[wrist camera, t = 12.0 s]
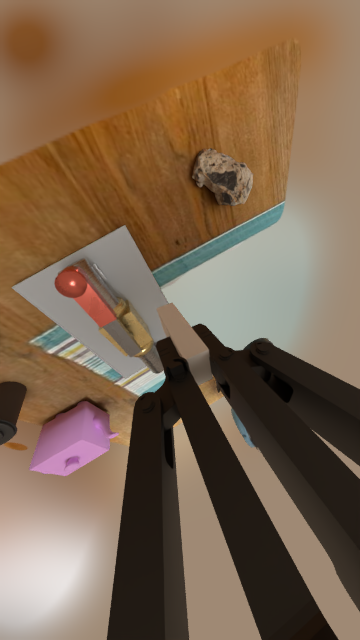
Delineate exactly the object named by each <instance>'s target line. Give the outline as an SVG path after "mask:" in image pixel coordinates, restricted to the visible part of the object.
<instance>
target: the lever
mask: <svg viewBox="0 0 360 640" xmlns="http://www.w3.org/2000/svg"><path fill="white" fill-rule="evenodd" d="M54 284H55V288H56V289H57V291H58V292H59V293H60V294H62V295H63V296H66V297H69V298H73V299H74V300H75V301H76V302H77V303H78V304H79V305H80V306H81V307H82V308H83V309H84V311H85V312H86V313H87V314H88V315H89V316H90V317H91V318H92V319H93V320H94V321H95V322H96V323H97V324H98V326H99V327H100V328H101V327H103V328H104V329H105V330H106V331H107V333H108V334H109V335H110V336H111V337H112V338H113V339H114V340H115V341H116V342H117V343H118V345H119V346H120V347H121V348H122V349H123V350H124V351H125V352H126V353H127V354H128V355H129V357H130V358H131V357H133V356H134V355H136V354H138V353H140V352H142V351H141V347H140V345H139V344H138V343H137V341H136V340H135V339H134V335H133V333H131V332H129V331H128V330H127V329H126V328H125V326H124V325H123V324H122V323H121V321H120V320H119V319H118V317H117V316H116V313H115V312H114V310H113V309H112V308H111V306H110V305H109V304H108V303H107V301H106V300H105V299H104V298H103V296H102V295H101V294H100V292H99V291H98V290H97V289H96V287H95V286H94V285H93V283H92V282H91V281H90V280H89V278H88V275H87V273H86V272H85V271H84V270H83V269H81V268H80V267H76V266H69V267H66V268H64V269H63V270H62V271H61V273H60V274H59V275H58V276H57V277H56V278H55V282H54Z"/></svg>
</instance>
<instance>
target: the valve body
mask: <svg viewBox="0 0 360 640" xmlns="http://www.w3.org/2000/svg"><path fill="white" fill-rule="evenodd" d="M69 266H76V267H80V268H81V269H83V270H84V271H85V272H86V273H87V275H88V278H89V280H90V281H91V282H92V283H93V285H94V286H95V287H96V289H97V290H98V291H99V292H100V294H101V295H102V296H103V298H104V299H105V300H106V301H107V303H108V304H109V305H110V306H111V308H112V309H113V310H114V312H115V313H116V316H117V317H118V319H119V320H120V321H121V323H122V324H123V325H124V326H125V328H126V329H127V330H128V331H129V332H131V333H133V335H134V339H135V340H136V341H137V343H138V344H139V345H140V347H141V351H142V352H140V353H138V354H136V355H134V356H133V357H139V359H140V360H141V361H142V362H143V363H144V364H145V365H146V366H147V367H148V368H149V369H150V370H151V371H152V372H153V373H160V372H162V371H163V370H164V368H163V365H162V363H161V360H160V357H159V354H158V351H157V349H156V344H157V342H155V343H154V340H153V338H152V336H151V333H150V331H149V328H148V326H147V324H146V323H145V322H144V320H143V319H142V318H141V316H140V315H139V314H138V312H137V311H136V310H135V308H134V307H133V306H132V304H131V303H130V302H129V300H128V299H127V300H126V301H124V300H123V299H122V298H121V297H115V295H114V294H113V293H112V292H111V290H110V289H109V288H108V287H107V285H106V284H105V283H104V282H103V281H104V280H106V279H107V277H106V276H105V275H104V273H103V272H102V271H101V269H100V268H99V267H98V266H97V264H96V263H93V264H91V265H90V264H89V263H88V262H87V260H86V259H85V258H82V259H80V260H78V261H76V262H74V263H72V264H70V265H69ZM69 266H67V267H69ZM65 268H66V267H65ZM62 270H63V269H62ZM62 270H61V271H62ZM61 271H60V272H58V273H57V275H59V274H60V273H61ZM98 331H99V332H100V333H101V334H102V335H103V336H104V337H105V338H106V339H108V340H109V341H110V342H111V343H112V344H113V345H114V346H115V347H116V348H117V349H118V350H119V351H120V352H121V353H122V354H123V355H124V356H128V354H127V353H126V352H125V351H124V350H123V349H122V348H121V347H120V346H119V345H118V343H117V342H116V341H115V340H114V339H113V338H112V337H111V336H110V335H109V334H108V333H107V331H106V330H105V329H104V328H103V327H101V328H100V327H99V329H98ZM153 343H154V344H153Z"/></svg>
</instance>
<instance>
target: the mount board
mask: <svg viewBox="0 0 360 640" xmlns="http://www.w3.org/2000/svg"><path fill="white" fill-rule="evenodd" d="M82 258H85V259H86V260H87V262H88V263H89V264H90V265H91V264H93V263H96V264H97V266H98V267H99V268H100V269H101V271H102V272H103V273H104V275H105V276H106V277H107V279H106V280H104V281H103V282H104V283H105V284H106V285H107V287H108V288H109V289H110V290H111V292H112V293H113V294H114V295H115V297H121V298H122V299H123V300H124V301H126V300H127V299H128V300H129V302H130V303H131V304H132V306H133V307H134V308H135V310H136V311H137V312H138V314H139V315H140V316H141V318H142V319H143V320H144V322H145V323H146V324H147V326H148V328H149V331H150V333H151V336H152V338H153V340H154V343H155V342H157V341H159V340H162V339H164V338H167V337H166V335H165V333H164V330H163V327H162V324H161V321H160V318H159V315H158V312H157V309H156V308H159V307H161V306H164V305H167V304H169V303H168V302H167V300H166V298H165V296H164V294H163V293H162V291H161V289H160V287H159V285H158V284H157V282H156V280H155V278H154V276H153V275H152V273H151V271H150V269H149V267H148V266H147V264H146V262H145V260H144V258H143V256H142V255H141V253H140V251H139V249H138V247H137V246H136V244H135V242H134V240H133V238H132V237H131V235H130V233H129V231H128V229H127V228H126V226H125V225H123V226H122V227H120V228H118V229H116V230H114V231H112V232H111V233H109V234H107V235H105V236H103V237H102V238H100V239H98V240H96V241H94V242H92V243H91V244H89V245H87V246H85V247H83V248H81V249H80V250H78V251H76V252H74V253H72V254H71V255H69V256H67V257H65V258H63V259H61V260H60V261H58V262H56V263H54V264H52V265H50V266H49V267H47V268H45V269H43V270H41V271H40V272H38V273H36V274H34V275H32V276H30V277H29V278H27V279H25V280H23V281H21V282H20V283H18V284H16V285H14V286H13V287H12V288H13V289H14V290H15V291H17V292H18V293H19V294H20V295H22V296H23V297H24V298H25V299H27V300H28V301H29V302H30V303H32V304H33V305H34V306H35V307H37V308H38V309H39V310H40V311H42V312H43V313H44V314H45V315H47V316H48V317H49V318H50V319H52V320H53V321H54V322H55V323H57V324H58V325H59V326H60V327H62V328H63V329H64V330H65V331H67V332H68V333H69V334H70V335H72V336H73V337H74V338H75V339H77V340H78V341H79V342H80V343H82V344H83V345H84V346H85V347H87V348H88V349H89V350H90V351H92V352H93V353H94V354H95V355H97V356H98V357H99V358H100V359H102V360H103V361H104V362H105V363H107V364H108V365H109V366H110V367H112V368H113V369H114V370H115V371H117V372H118V373H119V374H120V375H122V376H123V377H124V378H125V379H126V378H128V377H130V376H131V375H133V374H135V373H136V372H138V371H139V370H141V369H143V368H144V367H146V365H145V364H144V363H143V362H142V361H141V360H140V359H139V357H131V358H130V357H129V355H128V356H124V355H123V354H122V353H121V352H120V351H119V350H118V349H117V348H116V347H115V346H114V345H113V344H112V343H111V342H110V341H109V340H108V339H106V338H105V337H104V336H103V335H102V334H101V333H100V332H99V331H98V329H99V326H98V324H97V323H96V322H95V321H94V320H93V319H92V318H91V317H90V316H89V315H88V314H87V313H86V312H85V311H84V309H83V308H82V307H81V306H80V305H79V304H78V303H77V302H76V301H75V300H74V299H73V298H69V297H66V296H63V295H62V294H60V293H59V292H58V291H57V289H56V288H55V284H54V282H55V278H56V277H57V276H58V275H57V273H58V272H60V271H61V270H62V269H64V268H65V267H67V266H69V265H70V264H72V263H74V262H76V261H78V260H80V259H82ZM154 343H153V344H154Z"/></svg>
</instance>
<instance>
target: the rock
mask: <svg viewBox="0 0 360 640" xmlns="http://www.w3.org/2000/svg"><path fill="white" fill-rule="evenodd" d="M192 178H193V179H195V180H196V184H197V185H198V186H199V187H202V186H203V185H206V186H207V187H208V189H210V190H211V191H212V192H215V197H216V199H217V202H218V204H219V205H231V206H234V205H237V204H242V203H243V204H244V203H245V202H246V200H247V197H248V195H249V193H250V190H251V188H252V184H253V173H251V171H250V170H249V169H248V168H247V165H246V164H245V163H243V162H242V163H239V162H236V161H235V160H234V159H233V158H231V157H230V156H227V155H224V154H223V153H217V151H216V150H214V149H211V148H210V149H209V150H207V149H203V150H201V151H200V152H199V154H198V156H197V159H196V162H195V166H194V170H193V176H192Z"/></svg>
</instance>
